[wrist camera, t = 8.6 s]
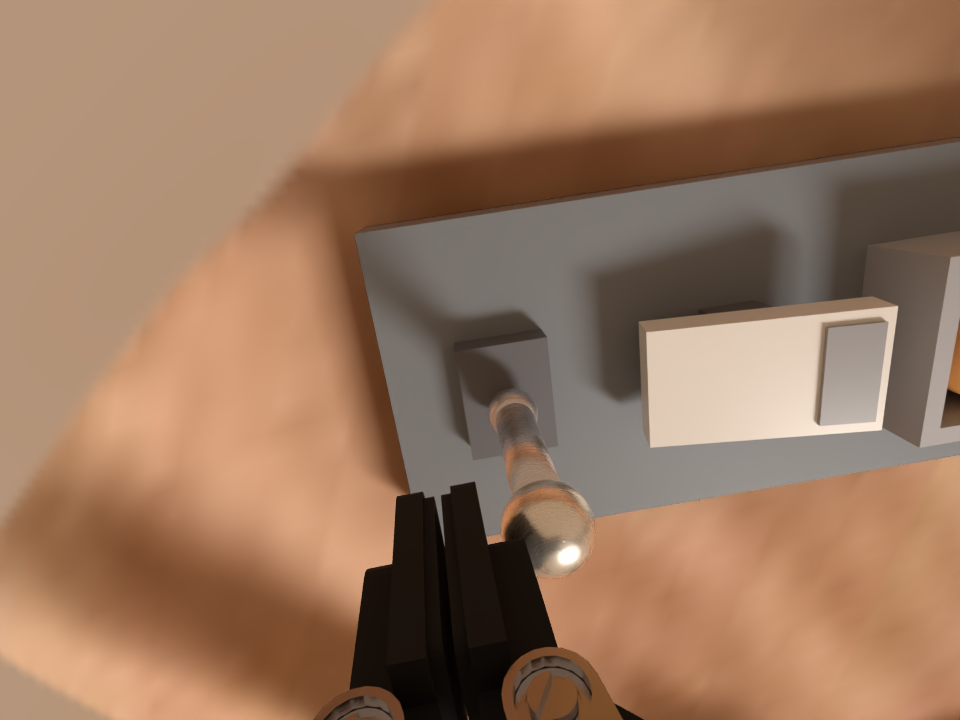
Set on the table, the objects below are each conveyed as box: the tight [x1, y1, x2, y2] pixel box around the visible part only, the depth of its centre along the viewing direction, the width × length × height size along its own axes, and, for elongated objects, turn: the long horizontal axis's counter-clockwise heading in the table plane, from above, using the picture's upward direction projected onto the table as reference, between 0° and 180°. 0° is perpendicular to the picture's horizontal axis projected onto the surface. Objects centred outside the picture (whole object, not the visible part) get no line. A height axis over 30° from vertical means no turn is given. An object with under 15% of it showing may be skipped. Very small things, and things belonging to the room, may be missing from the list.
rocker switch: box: [639, 296, 898, 448], centre depth 16 cm, size 7×4×1 cm, turn 98°
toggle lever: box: [487, 388, 596, 580], centre depth 13 cm, size 2×2×8 cm
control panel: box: [354, 137, 960, 544], centre depth 18 cm, size 25×12×6 cm, turn 98°
